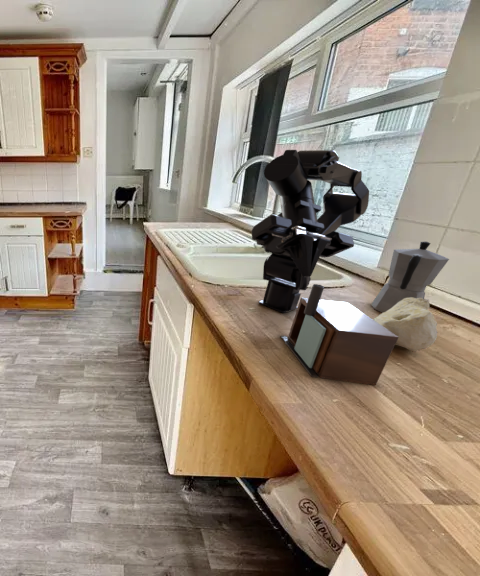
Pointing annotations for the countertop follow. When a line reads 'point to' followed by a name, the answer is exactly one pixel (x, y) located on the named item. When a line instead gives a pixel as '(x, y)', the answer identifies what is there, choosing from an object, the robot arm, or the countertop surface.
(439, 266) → the coffeepot
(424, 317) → the beige rock
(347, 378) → the cabinet
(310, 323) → the cleaver
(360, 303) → the countertop surface
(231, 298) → the countertop surface
